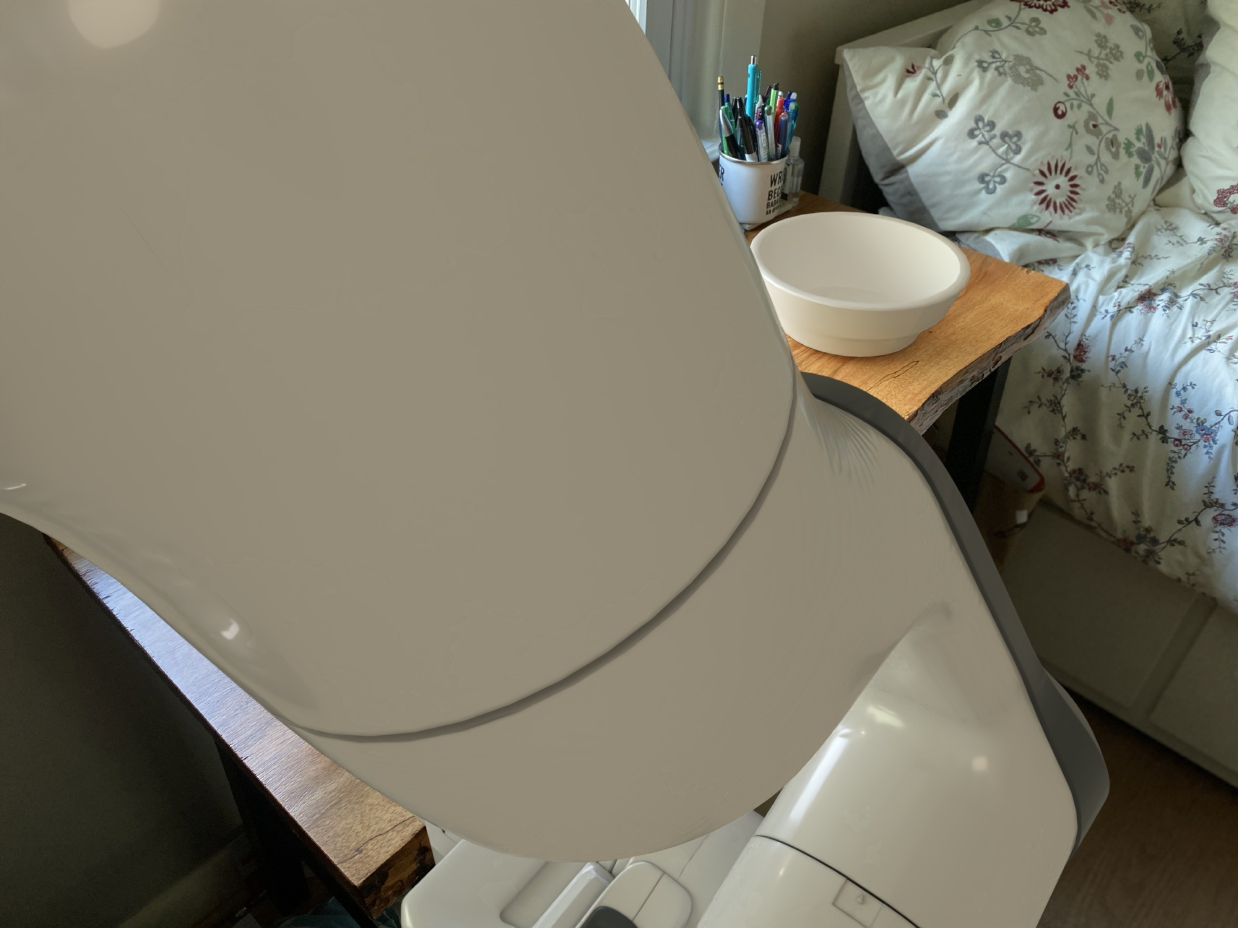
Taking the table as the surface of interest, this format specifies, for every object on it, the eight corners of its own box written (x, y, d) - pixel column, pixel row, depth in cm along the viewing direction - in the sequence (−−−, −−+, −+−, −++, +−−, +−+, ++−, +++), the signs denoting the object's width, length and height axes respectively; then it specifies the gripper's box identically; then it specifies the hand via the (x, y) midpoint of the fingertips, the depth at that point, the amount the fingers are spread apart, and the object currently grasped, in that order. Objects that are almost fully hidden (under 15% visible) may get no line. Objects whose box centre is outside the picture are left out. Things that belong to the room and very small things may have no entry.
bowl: (873, 264, 113) (885, 198, 108) (998, 355, 97) (1020, 282, 92) (707, 299, 106) (711, 230, 101) (812, 402, 90) (823, 327, 85)
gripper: (808, 697, 48) (601, 577, 55) (538, 1042, 35) (313, 831, 42) (794, 768, 52) (603, 648, 59) (547, 1101, 39) (340, 900, 46)
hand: (479, 727), depth 50 cm, fingers open, 8 cm apart
